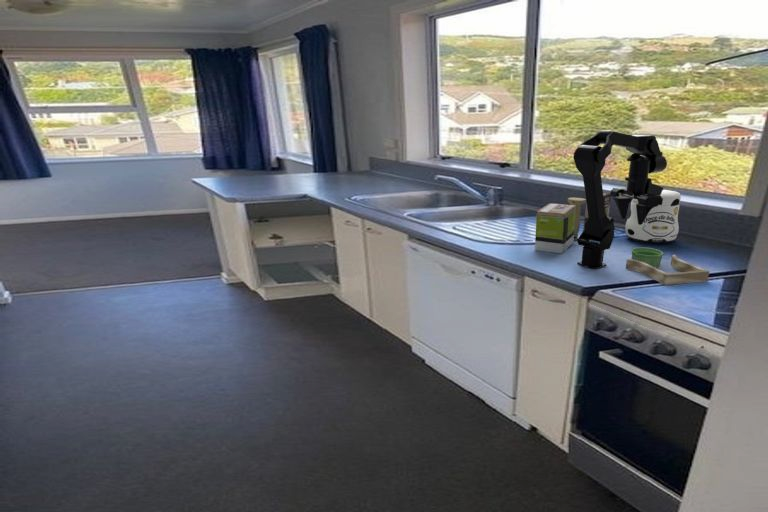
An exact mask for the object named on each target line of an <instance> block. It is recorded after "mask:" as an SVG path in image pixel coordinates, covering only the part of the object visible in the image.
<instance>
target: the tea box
mask: <svg viewBox="0 0 768 512" xmlns="http://www.w3.org/2000/svg"><path fill="white" fill-rule="evenodd" d="M575 212H576V205H571V204H563V203H562V204H561V203H551V202H550V203H548V204H546V205H545V206H543V207H542V208H540V209H538V210H537V211H536V216H535V220H536V221H535V235H534V236H535V237H534V239H535V240H534V243H535V244H534V250H535V251H540V252H548V253H553V252H554V253H553V254H563V253H564V252H565V251H566V250H567V249H568V248H569V247H571V246H572V245H573V243H574V239H575V238H574V226H575Z"/></svg>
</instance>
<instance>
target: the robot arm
mask: <svg viewBox="0 0 768 512" xmlns="http://www.w3.org/2000/svg"><path fill="white" fill-rule="evenodd" d="M600 145H603V146H600ZM613 146H615V147H620V148H624V149H626V151H627V152H630V153H632V154H631V155H630V156H629V157H627V158H626V161H627V162H629V167H628V176H627V177H626V176H625V177H624V181H627V185H626V187H624V186H623V187H621V186H620V187H613V188H612V189H610V192H609V193H610V196H611V197H612V200H614V203H615V204H616V207H617V209H618V212H619V214H620V217H621V220H625V219H626V218H627V215H628V211H629V206H630V204H631V202H632V199H637V200H638V203H639V204H636V210H637V219H638V224H639V225H642V224H643V222H644V220H645V218H646V216H647V215H648V213H649V211H650V210H651V209H652V208H654V207H657V206H658V205H662V202H663V198H662V197H661V196H660V195H661V193H662V191H663V190H665V188H664V186H663V187H662V186H660V185H658V184H654V183H653V182H652V178H650V177H649V174H655V173H661V172H663V171H664V170H665V169H666V167H667V164H668V162H667V161H668V160H667V159H666V158H665V156H664V155H663V151H661V149H660V145H659V142H658V140H657V137H656V135H652V134H651V135H648V134H627V133H623V132H618V131H617V132H616V131H615V130H612V129H610V130H608V129H607V130H605V129H601V130H599V131H597V132H596V134H594V136H592V137H590V138H589V137H588V139H586V140H584V141H583V142H582V143H581V144H580V145H578V147H577V148H576V149H575V151H574V152H573V161H574V165H575V168H576V169H577V171H578V172H579V173H580V174H581V176H582V179H583V187H584V194H585V199H586V202H587V210H588V219H587V221H586V223H585V225H584V224H583V228H584V231H583V230H582V232H581V233H580V235H578V236H579V237H577V239H576V240H577V245H578V246H581V247H582V255H581V261H578V262H577V263H576V264H577V265H580V266H582V267H585V268H588V269H591V270H596V269H599V268H603V267H606V266H607V265H608V264H607V263H605V262H604V256H605V255H604V254H605V251H606V250H610V248H611V246H612V243H613V240H614V238H615V230H616V227H615V220H614V218H613V217H610V216H608V217H607V216H606V213H605V205H604V197H603V193H604V189H603V182H602V180H603V179H602V171H603V169H604V167H605V165H606V159H607V158H608V157H609V156H610V154H611V153H612V150H613V149H612V148H613ZM645 194H647V195H645ZM637 196H638V197H637ZM586 202H585V203H586Z"/></svg>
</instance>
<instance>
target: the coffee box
mask: <svg viewBox="0 0 768 512" xmlns="http://www.w3.org/2000/svg"><path fill="white" fill-rule="evenodd" d="M610 193H611V192H603V197H604V205H605V213H606V216H607V217H610V216H609V215H610V205H611V197H612V196H610ZM587 219H588V210H587V202H585V211H584V221H583V226H584V225H585V223H586V221H587ZM582 228H583V229H582V232H583V231H584V227H582Z"/></svg>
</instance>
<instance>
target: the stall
mask: <svg viewBox="0 0 768 512" xmlns="http://www.w3.org/2000/svg"><path fill="white" fill-rule="evenodd" d="M670 265H671V266H672V268H673V269H674V270H677V271H679V272H670V273H667V272H666V271H664V270H661V269H659V268H658V267H656V268H655V267H653V266H651V265H648V264H646V263H644V262H641V261H637V260H632V258H627V259H626V263H625V269H627V270H630V271H635V272H638V273H641V274H642V275H644V276H646V277H648V278H650V279H653V281H656V282H658V283H661V284H662V285H665V286H671V285H672V286H673V285H680V284H683V285H684V284H692V283H693V284H694V283H702V282H708V281H709V280H708V279H709V275H710V271H709V270H707V269H705V268H702V267H699V266H697V265H694V264H693V263H690V262H687V261H685V260H682V259H680V258H678V257H677V255H676V254H672V255H671V259H670Z"/></svg>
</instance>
